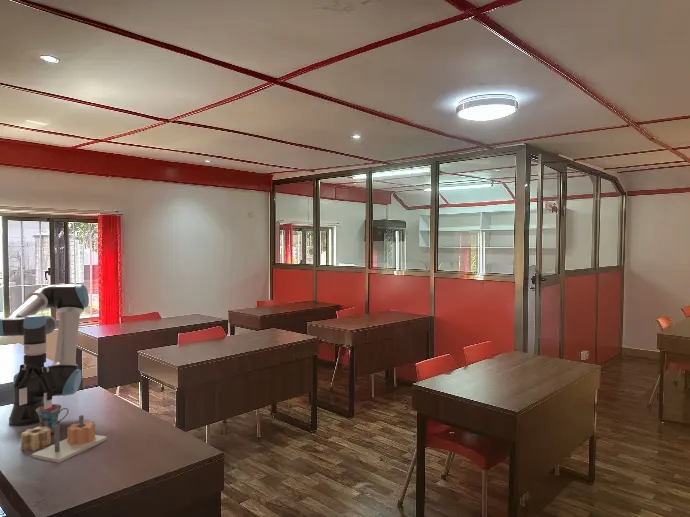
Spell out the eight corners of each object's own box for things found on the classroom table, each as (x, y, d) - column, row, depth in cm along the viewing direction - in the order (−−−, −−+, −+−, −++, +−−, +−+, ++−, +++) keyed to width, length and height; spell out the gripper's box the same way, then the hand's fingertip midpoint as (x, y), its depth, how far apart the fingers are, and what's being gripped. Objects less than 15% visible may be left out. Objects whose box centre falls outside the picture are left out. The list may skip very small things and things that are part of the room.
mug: (36, 438, 194) (36, 413, 193) (35, 430, 201) (35, 406, 201) (69, 431, 201) (69, 407, 200) (67, 424, 208) (67, 401, 208)
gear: (15, 448, 183) (15, 434, 183) (38, 439, 193) (38, 425, 192) (33, 452, 180) (33, 437, 180) (56, 442, 189) (56, 428, 189)
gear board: (31, 457, 176) (31, 428, 176) (81, 435, 197) (80, 409, 197) (59, 462, 172) (58, 433, 172) (106, 439, 193) (106, 413, 192)
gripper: (3, 353, 186) (3, 405, 186) (49, 357, 178) (49, 412, 178) (21, 349, 193) (22, 400, 193) (66, 353, 185) (67, 406, 185)
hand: (35, 406), depth 186 cm, fingers open, 13 cm apart
